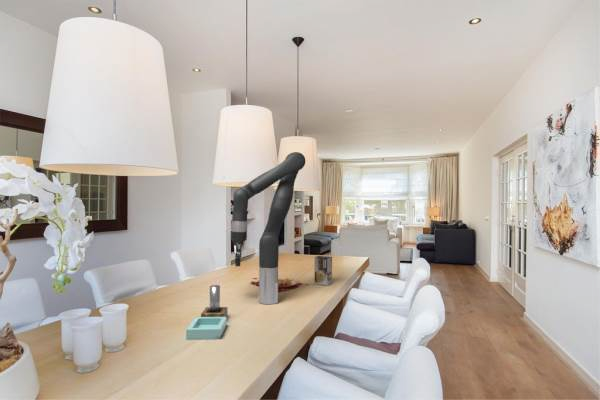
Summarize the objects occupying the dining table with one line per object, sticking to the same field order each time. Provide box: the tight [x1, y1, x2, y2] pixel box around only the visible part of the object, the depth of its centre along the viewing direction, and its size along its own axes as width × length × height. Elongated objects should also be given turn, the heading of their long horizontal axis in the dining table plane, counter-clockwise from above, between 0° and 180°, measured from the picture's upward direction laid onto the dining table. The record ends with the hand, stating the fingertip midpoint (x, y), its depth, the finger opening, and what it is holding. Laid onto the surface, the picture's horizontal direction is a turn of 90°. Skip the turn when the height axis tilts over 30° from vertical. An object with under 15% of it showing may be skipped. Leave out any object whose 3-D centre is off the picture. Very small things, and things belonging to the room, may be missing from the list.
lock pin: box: [209, 284, 221, 313], centre depth 140 cm, size 4×4×14 cm
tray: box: [185, 316, 228, 341], centre depth 127 cm, size 12×13×4 cm
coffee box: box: [313, 255, 333, 287], centre depth 204 cm, size 9×6×16 cm
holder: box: [200, 306, 228, 318], centre depth 140 cm, size 9×9×4 cm
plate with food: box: [249, 277, 310, 292], centre depth 201 cm, size 25×26×4 cm
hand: (237, 264), depth 162 cm, fingers open, 8 cm apart
